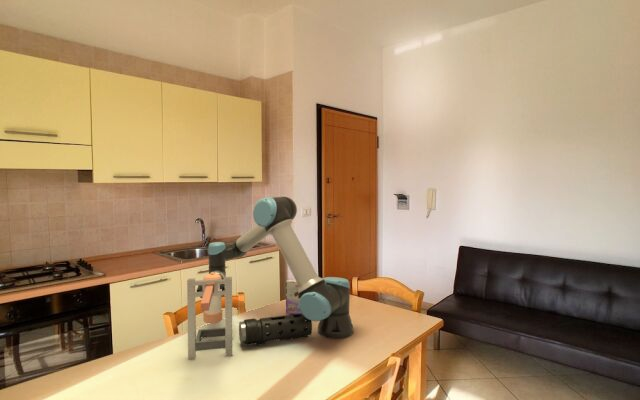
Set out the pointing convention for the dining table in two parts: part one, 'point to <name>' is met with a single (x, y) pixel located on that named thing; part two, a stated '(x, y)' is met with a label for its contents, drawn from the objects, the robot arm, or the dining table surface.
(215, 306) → the pepper shaker
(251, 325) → the muzzle brake
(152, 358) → the dining table surface
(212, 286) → the bar
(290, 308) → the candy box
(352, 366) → the dining table surface
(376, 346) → the dining table surface
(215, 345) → the grey shallow square frame
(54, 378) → the dining table surface
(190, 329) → the frame
